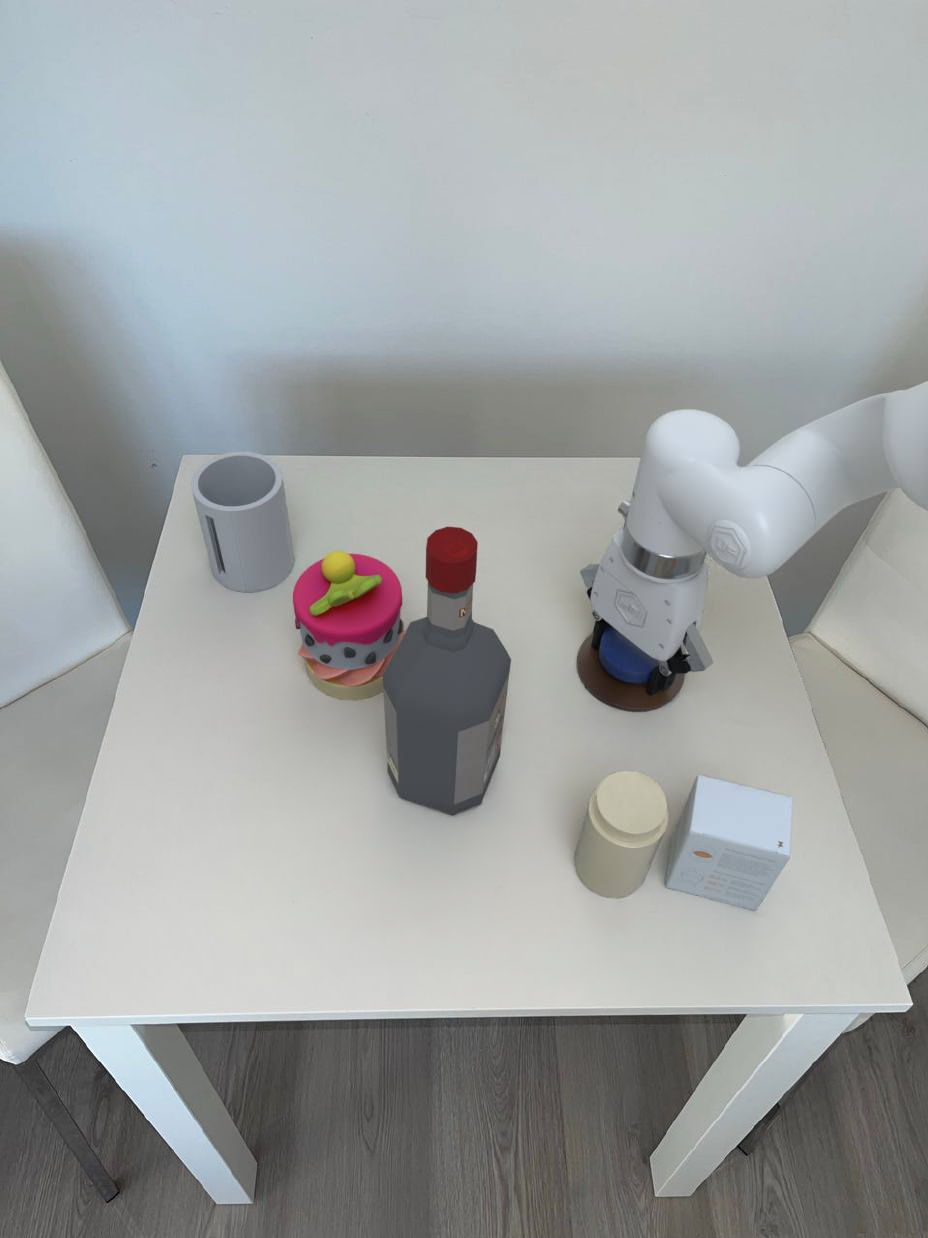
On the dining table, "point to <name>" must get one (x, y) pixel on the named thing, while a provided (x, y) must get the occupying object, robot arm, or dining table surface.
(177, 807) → the dining table surface
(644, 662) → the lid
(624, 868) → the jar
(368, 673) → the cake
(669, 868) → the small box
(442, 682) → the liquor
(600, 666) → the coaster
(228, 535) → the cup
